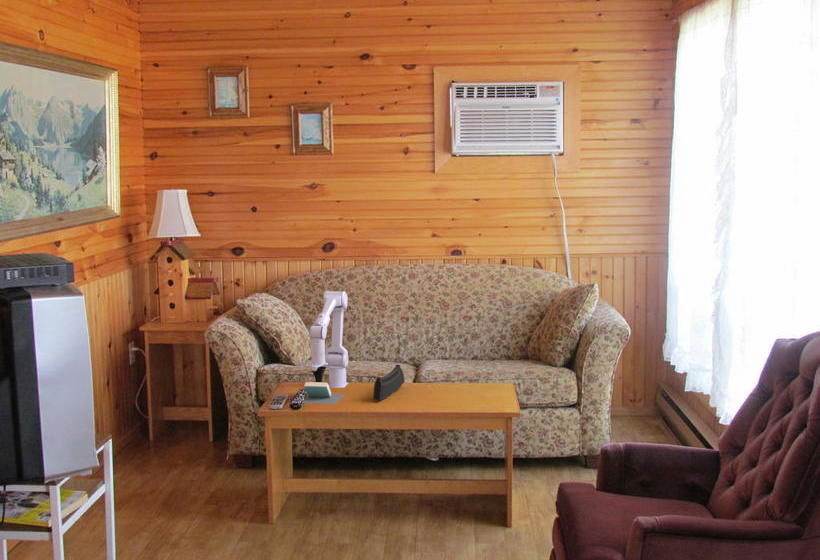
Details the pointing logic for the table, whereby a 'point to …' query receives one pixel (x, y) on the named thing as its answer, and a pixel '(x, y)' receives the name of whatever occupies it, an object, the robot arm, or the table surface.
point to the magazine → (388, 384)
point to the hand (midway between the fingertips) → (319, 383)
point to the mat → (323, 399)
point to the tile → (317, 389)
